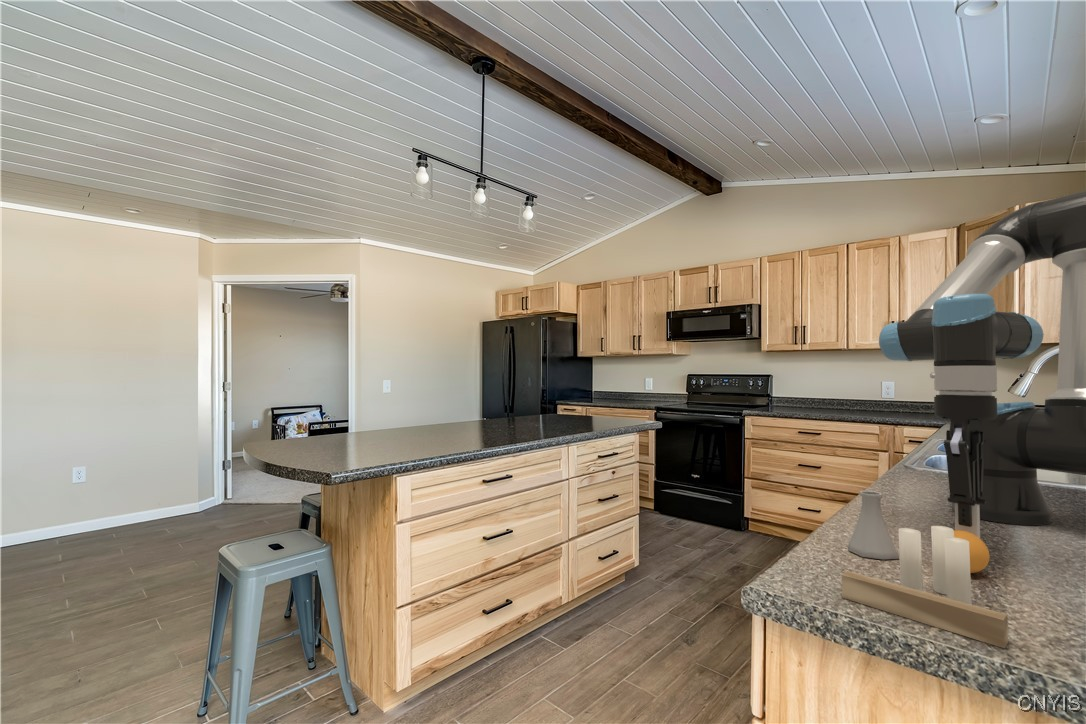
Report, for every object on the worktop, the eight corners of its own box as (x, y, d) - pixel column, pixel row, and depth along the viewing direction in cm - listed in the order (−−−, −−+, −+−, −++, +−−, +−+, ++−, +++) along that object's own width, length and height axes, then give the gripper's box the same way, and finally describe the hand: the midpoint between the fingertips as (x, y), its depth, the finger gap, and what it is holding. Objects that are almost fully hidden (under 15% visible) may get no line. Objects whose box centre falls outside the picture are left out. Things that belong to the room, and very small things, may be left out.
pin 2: (949, 601, 64) (947, 535, 65) (973, 608, 63) (971, 540, 63) (944, 607, 63) (942, 539, 63) (969, 614, 61) (966, 544, 61)
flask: (908, 562, 78) (906, 498, 78) (857, 559, 79) (855, 497, 80) (886, 547, 85) (884, 488, 85) (840, 544, 87) (838, 487, 87)
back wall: (848, 593, 67) (847, 571, 67) (1008, 642, 55) (1007, 614, 55) (842, 597, 66) (841, 574, 66) (1004, 648, 53) (1003, 620, 54)
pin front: (936, 586, 69) (934, 524, 69) (958, 591, 67) (955, 528, 68) (931, 590, 68) (928, 528, 68) (953, 596, 66) (950, 532, 66)
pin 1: (904, 589, 68) (901, 526, 69) (925, 595, 66) (923, 531, 67) (898, 594, 67) (895, 530, 67) (919, 600, 65) (917, 534, 65)
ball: (939, 518, 77) (928, 543, 74) (989, 526, 73) (981, 553, 69) (946, 549, 79) (936, 575, 76) (996, 559, 74) (988, 587, 71)
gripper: (946, 392, 85) (949, 532, 84) (921, 393, 77) (924, 547, 76) (1005, 393, 79) (1009, 544, 78) (985, 394, 71) (989, 562, 70)
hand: (967, 545), depth 77 cm, fingers closed
